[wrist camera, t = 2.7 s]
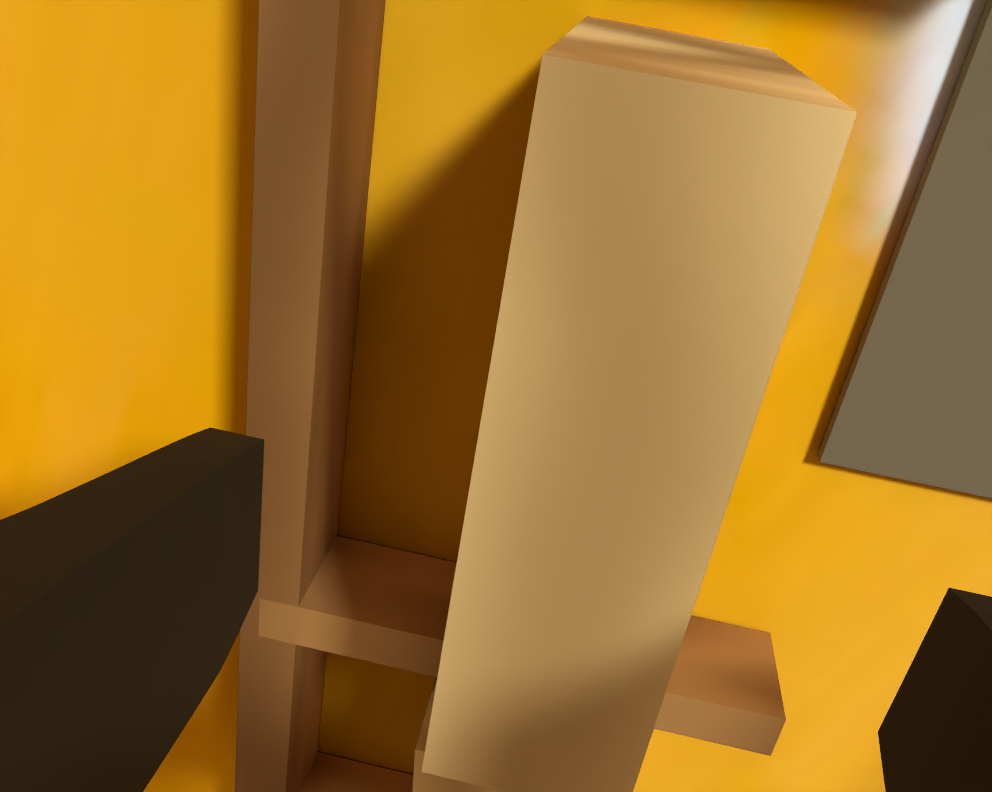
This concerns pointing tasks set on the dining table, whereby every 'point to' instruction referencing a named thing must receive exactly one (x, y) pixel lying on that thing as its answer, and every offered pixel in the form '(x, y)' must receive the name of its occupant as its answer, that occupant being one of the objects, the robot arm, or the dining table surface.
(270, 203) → the rack
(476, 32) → the dining table surface
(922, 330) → the mat
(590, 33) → the tan wooden block
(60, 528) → the robot arm
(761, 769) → the dining table surface
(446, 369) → the dining table surface
